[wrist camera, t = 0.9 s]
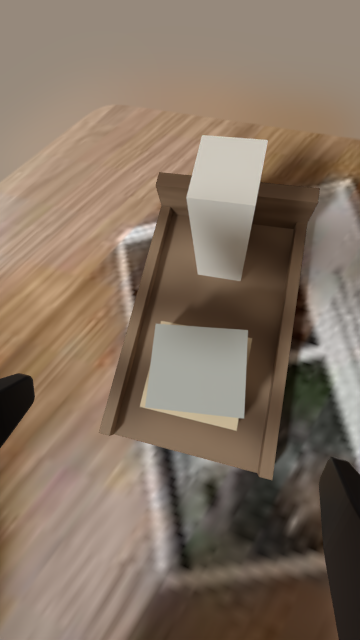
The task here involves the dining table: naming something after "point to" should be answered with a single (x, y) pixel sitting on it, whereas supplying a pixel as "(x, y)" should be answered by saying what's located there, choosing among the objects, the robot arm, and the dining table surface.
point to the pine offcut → (209, 419)
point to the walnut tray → (217, 324)
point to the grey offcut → (198, 370)
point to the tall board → (224, 202)
